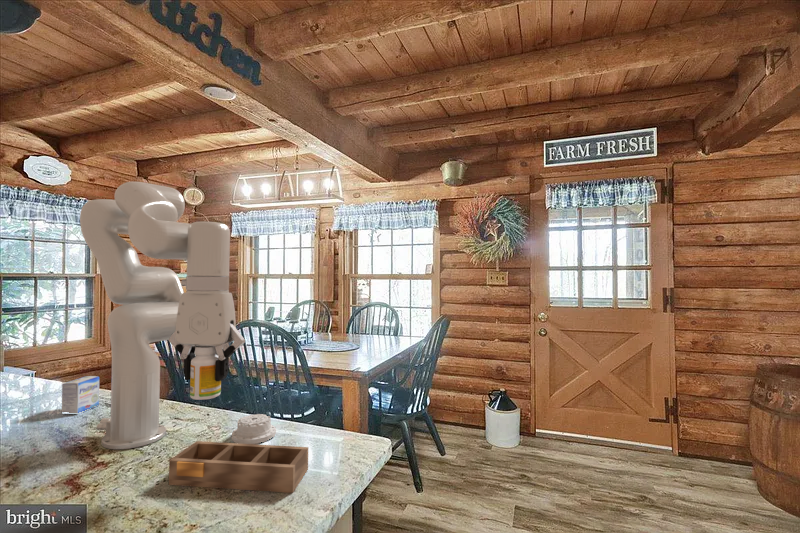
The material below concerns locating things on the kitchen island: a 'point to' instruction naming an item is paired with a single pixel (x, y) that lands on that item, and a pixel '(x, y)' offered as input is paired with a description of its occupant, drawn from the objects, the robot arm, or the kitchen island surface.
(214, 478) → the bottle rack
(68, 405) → the medicine box
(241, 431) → the mechanical component
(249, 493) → the kitchen island surface
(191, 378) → the supplement bottle
